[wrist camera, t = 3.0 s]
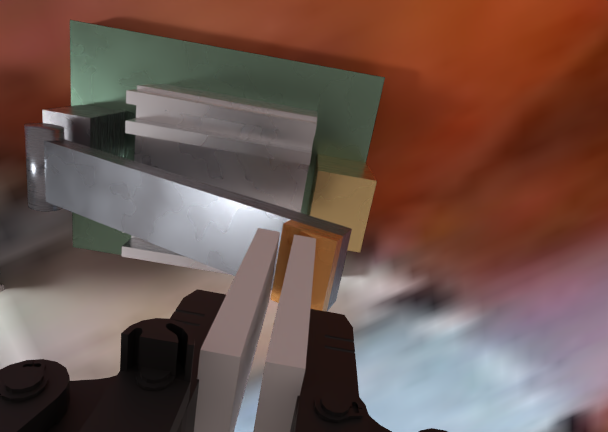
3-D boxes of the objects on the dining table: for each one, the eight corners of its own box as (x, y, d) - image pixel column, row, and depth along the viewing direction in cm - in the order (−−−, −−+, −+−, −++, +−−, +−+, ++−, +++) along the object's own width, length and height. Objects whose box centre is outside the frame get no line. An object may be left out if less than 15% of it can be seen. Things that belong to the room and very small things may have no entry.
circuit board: (88, 235, 29) (20, 284, 23) (88, 24, 25) (3, 4, 18) (335, 277, 30) (341, 336, 23) (379, 77, 25) (403, 78, 19)
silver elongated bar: (51, 198, 22) (14, 205, 20) (49, 122, 20) (9, 123, 19) (335, 308, 16) (317, 331, 15) (357, 213, 15) (340, 227, 13)
